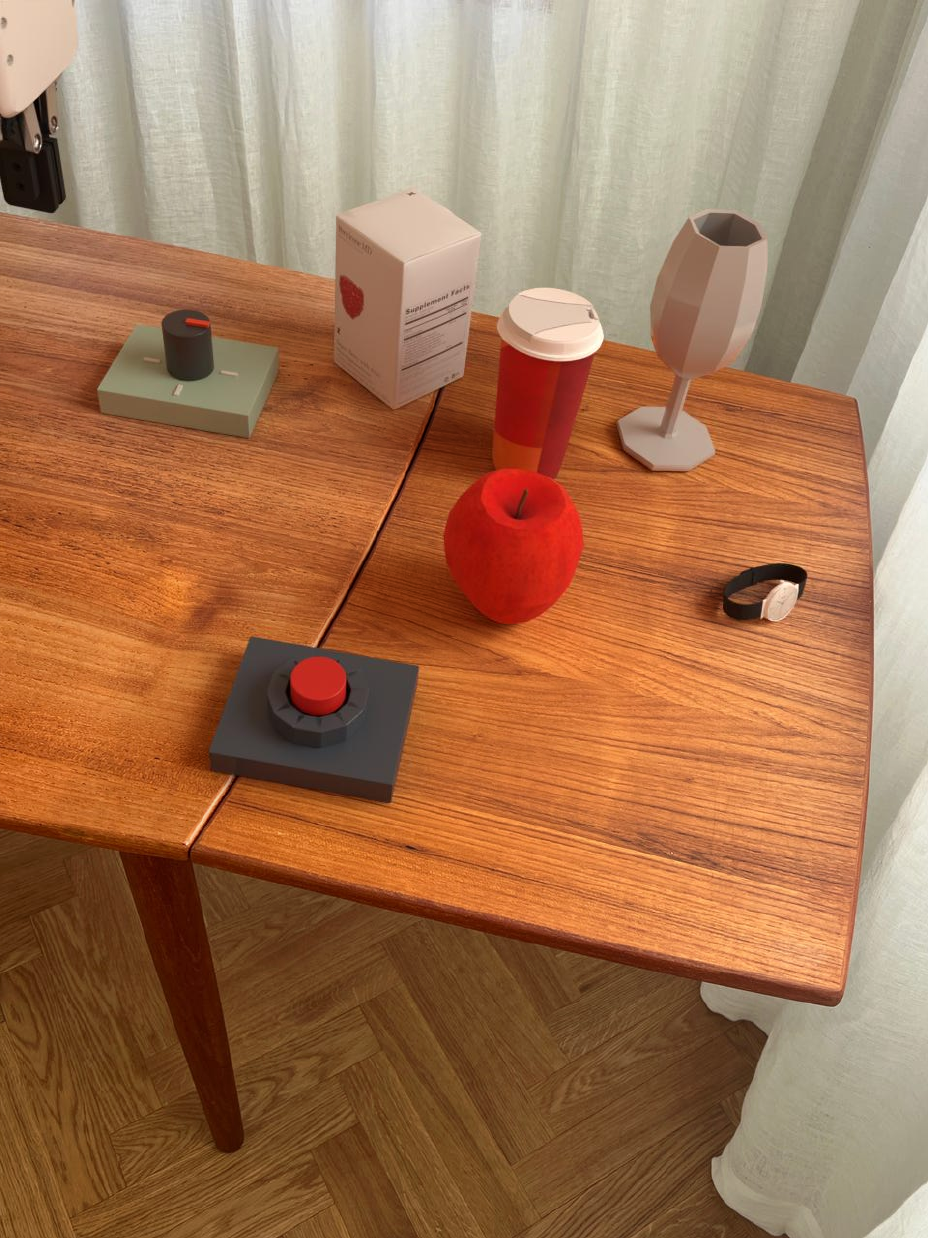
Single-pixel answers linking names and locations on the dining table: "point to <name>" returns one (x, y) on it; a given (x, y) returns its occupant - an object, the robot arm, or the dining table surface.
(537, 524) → the apple
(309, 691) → the power button
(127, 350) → the panel
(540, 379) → the coffee cup
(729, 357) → the wineglass
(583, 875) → the dining table surface
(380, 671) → the grey button base
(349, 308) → the rectangular carton
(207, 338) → the timer knob
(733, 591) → the watch
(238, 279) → the dining table surface
